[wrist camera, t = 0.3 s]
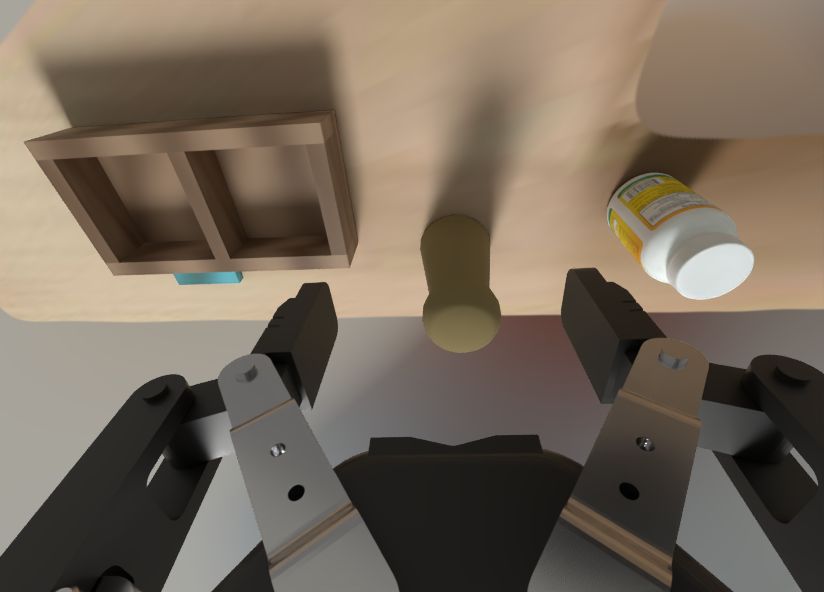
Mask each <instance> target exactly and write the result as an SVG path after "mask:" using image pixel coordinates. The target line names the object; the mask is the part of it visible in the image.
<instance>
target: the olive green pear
mask: <svg viewBox="0 0 824 592" xmlns="http://www.w3.org/2000/svg"><path fill="white" fill-rule="evenodd" d="M420 250H421V255H422V260H423V265H424V270H425V275H426V280H427V285H428V290H429V295H428V297H427V299H426V301H425V303H424V306H423V319H422V321H423V324H424V326H425V330H426V332H427V335H428V336H429V337H430V338H431V339H432V341H433V342H434V343H435V344H437V345H438V346H440V347H441V348H443V349H445V350H448V351H452V352H461V353H464V352H470V351H475V350H477V349H479V348H482V347H484V346H485V345H487V344H488V343H489V342H490V341H491V340H492V339H493V337H494V336H495V334H496V333H497V332H498V330H499V325H500V322H501V311H500V306H499V302H498V300H497V298H496V297H495V295H494V294H493V292H492V291H491V289H490V288H489V279H490V241H489V235H488V233H487V232H486V230H485V228H484V226H482V225H481V224H480V223H479V222H478V221H476V220H475V219H473V218H470V217H467V216H464V215H451V216H446V217H442V218H440V219H439V220H437V221H435V222H433V223H432V224H431V225H430V226H429V227H428V228H427V229H426V230H425V232H424V234H423V237H422V239H421V248H420Z"/></svg>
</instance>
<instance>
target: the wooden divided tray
mask: <svg viewBox="0 0 824 592" xmlns="http://www.w3.org/2000/svg"><path fill="white" fill-rule="evenodd" d="M24 144H25V145H26V146H27V148H28V149H29V151H30V152H31V154H32V155H33V157H34V158H35V160H36V161H37V163H38V164H39V166H40V167H41V169H42V170H43V172H44V173H45V175H46V176H47V177H48V179H49V180H50V182H51V183H52V185H53V186H54V188H55V189H56V191H57V192H58V194H59V195H60V197H61V198H62V200H63V201H64V203H65V204H66V206H67V207H68V209H69V210H70V211H71V213H72V214H73V216H74V217H75V219H76V220H77V222H78V223H79V225H80V226H81V228H82V229H83V231H84V232H85V234H86V235H87V237H88V238H89V240H90V241H91V242H92V244H93V245H94V247H95V248H96V250H97V251H98V253H99V254H100V256H101V257H102V259H103V260H104V262H105V263H106V265H107V266H108V268H109V269H110V271H111V272H112V274H113V275H114V276H115V275H146V274H174V276H175V278H176V280H177V282H178V283H179V285H188V284H222V283H240V282H241V280H242V279H243V277H242V274H241V272H240V271H272V270H303V269H334V268H350V265H351V262H352V259H353V257H354V254H355V251H356V248H357V245H358V240H357V235H356V229H355V224H354V218H353V212H352V207H351V201H350V196H349V190H348V184H347V179H346V173H345V167H344V162H343V156H342V151H341V145H340V139H339V134H338V128H337V123H336V117H335V111H334V110H325V111H310V112H296V113H281V114H266V115H251V116H236V117H221V118H206V119H192V120H177V121H162V122H147V123H132V124H117V125H102V126H88V127H73V128H69V129H65V130H62V131H58V132H55V133H52V134H48V135H45V136H42V137H38V138H35V139H32V140H28V141H25V142H24Z"/></svg>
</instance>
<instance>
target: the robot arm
mask: <svg viewBox="0 0 824 592" xmlns="http://www.w3.org/2000/svg"><path fill="white" fill-rule="evenodd" d="M561 317H562V323H563V327H564V329H565V331H566V333H567V335H568V337H569V339H570V341H571V343H572V345H573V347H574V349H575V351H576V353H577V355H578V357H579V359H580V362H581V364H582V366H583V368H584V370H585V372H586V374H587V376H588V378H589V380H590V382H591V384H592V386H593V388H594V390H595V392H596V394H597V396H598V398H599V400H600V403H601V404H609V403H610V404H611V403H613V404H612V407H611V409H610V411H609V413H608V415H607V418H606V420H605V422H604V424H603V426H602V428H601V431H600V433H599V435H598V437H597V439H596V441H595V444H594V446H593V448H592V450H591V452H590V455H589V457H588V459H587V461H586V463H585V465H584V466H582V465H581V464H579V463H578V462H576V461H574V460H572V459H570V458H568V457H566V456H564V455H561V454H559V453H556V452H553V451H550V450H547V449H542V447H541V444H540V440H539V436H538V435H499V436H498V435H496V436H492V437H488V438H484V439H480V440H476V441H472V442H468V443H465V444H461V445H456V446H450V445H445V444H440V443H436V442H431V441H427V440H422V439H417V438H412V437H387V438H386V437H382V438H371V439H370V446H369V451H367V452H363V453H360V454H358V455H356V456H353V457H351V458H349V459H347V460H345V461H344V462H342V463H341V464H339V465H338V466H336V467H335V468H332V466H331V465H330V463H329V461H328V459H327V457H326V455H325V454H324V452H323V450H322V448H321V447H320V445H319V443H318V441H317V439H316V437H315V435H314V434H313V432H312V430H311V428H310V426H309V425H308V423H307V421H306V419H305V417H304V415H303V414H302V412H301V410H312V408H313V405H314V402H315V399H316V396H317V394H318V391H319V388H320V384H321V382H322V379H323V376H324V373H325V370H326V367H327V364H328V361H329V358H330V355H331V351H332V349H333V346H334V343H335V340H336V337H337V332H338V322H337V317H336V313H335V309H334V305H333V301H332V297H331V293H330V289H329V286H328V284H327V283H326V282H319V283H304V284H303V285H302V287H301V289H300V290H299V292H298V294H297V296H296V298H289V299H288V300H287V301H286V302H285V303H283V304H282V305H281V306H280V307H278V309H277V311H276V312H275V314H274V316H273V319H271V321H270V322H269V324H268V328H266V329H265V331H264V332H263V334H262V336H261V337H260V339H259V341H258V342H257V344H256V346H255V347H254V349H253V350H252V352H251V354H250V355H246V356H242V357H240V358H238V359H236V360H234V361H232V362H231V363H229V364H228V365H227V366H226V367H225V368H224V369H223V370H222V371H221V373H220V375H219V377H218V379H215V380H211V381H208V382H204V383H200V384H196V385H193V386H189V385H188V383H187V381H186V380H185V378H184V377H182V376H180V375H176V374H171V375H165V376H161V377H158V378H156V379H153V380H151V381H149V382H148V383H146V384H144V385H142V386H141V387H140V388H139V389H137V390H136V391H135V392H134V393H133V394H132V395H131V396H130V398H129V399H128V400H127V401H126V403H125V404H124V405H123V406H122V407H121V409H120V410H119V411H118V412H117V414H116V415H115V416H114V417H113V418H112V420H111V421H110V422H109V423H108V425H107V426H106V427H105V428H104V430H103V431H102V432H101V433H100V434H99V436H98V437H97V438H96V440H95V441H94V442H93V443H92V444H91V446H90V447H89V448H88V449H87V451H86V452H85V453H84V454H83V456H82V457H81V458H80V459H79V461H78V462H77V463H76V464H75V465H74V467H73V468H72V469H71V470H70V471H69V473H68V474H67V475H66V477H65V478H64V479H63V480H62V481H61V483H60V484H59V485H58V486H57V487H56V489H55V490H54V491H53V492H52V494H51V495H50V496H49V497H48V499H47V500H46V501H45V502H44V503H43V505H42V506H41V507H40V508H39V510H38V511H37V512H36V513H35V515H34V516H33V517H32V518H31V520H30V521H29V522H28V523H27V525H26V526H25V527H24V528H23V529H22V531H21V532H20V533H19V534H18V536H17V537H16V538H15V539H14V540H13V542H12V543H11V544H10V546H9V547H8V548H7V549H6V551H5V552H4V553H3V554H2V555H1V557H0V592H161V591H162V589H163V587H164V584H165V582H166V580H167V578H168V576H169V573H170V571H171V569H172V567H173V565H174V563H175V560H176V558H177V556H178V554H179V552H180V549H181V547H182V545H183V543H184V541H185V538H186V536H187V534H188V532H189V530H190V527H191V525H192V523H193V521H194V519H195V516H196V514H197V512H198V510H199V507H200V505H201V503H202V501H203V499H204V496H205V494H206V492H207V490H208V488H209V486H210V483H211V481H212V479H213V477H214V475H215V473H216V470H217V468H218V466H219V464H220V462H221V459H222V457H223V456H225V455H229V454H232V453H235V452H236V456H237V459H238V462H239V465H240V468H241V472H242V475H243V478H244V481H245V485H246V488H247V492H248V495H249V498H250V501H251V505H252V508H253V511H254V514H255V518H256V521H257V524H258V527H259V531H260V534H261V537H262V541H261V542H260V543H259V544H258V545H257V546H256V547H255V548H254V549H253V550H252V551H251V552H250V553H249V554H248V555H247V556H246V557H245V558H244V559H243V560H242V561H241V562H240V563H239V564H238V565H237V566H236V567H235V568H234V569H233V570H232V571H231V572H230V573H229V574H228V575H227V576H226V577H225V578H224V580H222V581H221V582H220V583H219V585H217V587H216V588H215V589H214V590H213V591H212V592H733V591H732V590H731V589H729V588H728V587H727V586H726V585H725V584H724V583H722V582H721V581H720V580H719V579H718V578H716V577H715V576H714V575H713V574H712V573H710V572H709V571H708V570H707V569H706V568H705V567H703V566H702V565H701V564H700V563H699V562H697V561H696V560H695V559H694V558H693V557H692V556H690V555H689V554H688V553H687V552H686V551H684V550H683V549H682V548H681V547H680V546H679V545H677V544H676V540H677V535H678V531H679V526H680V521H681V517H682V511H683V508H684V503H685V498H686V494H687V489H688V485H689V480H690V475H691V470H692V466H693V461H694V457H695V452H696V448H697V447H702V448H706V449H709V450H712V451H713V453H714V454H715V456H716V458H717V459H718V461H719V462H720V464H721V465H722V467H723V469H724V470H725V472H726V473H727V475H728V476H729V478H730V480H731V481H732V482H733V484H734V486H735V487H736V489H737V490H738V492H739V494H740V495H741V497H742V498H743V500H744V501H745V503H746V505H747V506H748V508H749V509H750V511H751V512H752V514H753V516H754V517H755V519H756V520H757V522H758V523H759V525H760V527H761V528H762V530H763V531H764V533H765V534H766V536H767V537H768V539H769V541H770V542H771V544H772V545H773V547H774V548H775V550H776V552H777V553H778V554H779V556H780V558H781V559H782V561H783V563H784V564H785V566H786V567H787V569H788V570H789V572H790V573H791V575H792V577H793V578H794V580H795V581H796V583H797V584H798V586H799V588H800V589H801V591H802V592H824V374H823V373H822V372H820V371H819V370H817V369H815V368H814V367H812V366H810V365H808V364H806V363H804V362H801V361H798V360H795V359H792V358H789V357H784V356H778V355H761V356H757V357H755V358H754V359H753V360H752V361H751V363H750V365H749V366H748V368H747V369H742V368H735V367H730V366H724V365H718V364H713V363H708V360H707V358H706V357H705V356H704V355H703V354H702V353H701V352H700V351H699V350H697V349H696V348H694V347H693V346H691V345H688V344H687V343H684V342H681V341H678V340H675V339H669V338H667V337H666V336H665V335H664V333H663V332H662V331H661V330H660V329H659V328H658V326H657V325H656V324H655V323H654V322H653V321H652V319H651V318H650V317H649V316H648V314H647V313H646V312H645V311H643V308H642V307H641V306H640V305H639V304H638V303H636V300H635V299H634V298H633V296H632V295H631V294H630V293H629V292H628V290H626V289H624V288H623V287H621V286H619V285H618V284H616V283H614V282H606V280H605V279H604V278H603V276H602V275H601V274H600V273H599V271H598V270H597V269H596V268H579V269H570V270H569V271H568V273H567V277H566V283H565V289H564V295H563V302H562V308H561ZM793 447H794V448H795V449H796V450H797V451H798V453H799V454H800V455H801V456H802V457H803V458H804V459H805V461H806V462H807V463H808V464H809V465H810V467H811V468H812V469H813V471H814V472H815V475H816V477H817V480H818V486H817V484H816V483H815V482H814V481H813V480H812V478H811V477H810V476H809V475H808V474H807V472H806V471H805V470H804V469H803V468H802V466H801V465H800V464H799V463H798V462H797V460H796V459H795V458H794V457H793V456H792V454H791V453H790V451H791V449H792V448H793ZM161 454H163V456H164V457H165V458H164V460H163V462H162V463H161V465H160V466H159V468H158V470H157V472H156V473H155V475H154V476H153V478H152V480H151V482H150V483H149V485H148V486H147V479H148V476H149V474H150V472H151V470H152V469H153V467H154V465H155V464H156V462H157V461H158V459H159V457H160V456H161Z"/></svg>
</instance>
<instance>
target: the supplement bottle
mask: <svg viewBox="0 0 824 592" xmlns="http://www.w3.org/2000/svg"><path fill="white" fill-rule="evenodd" d="M607 220H608V224H609V226H610V228H611V229H612V230H613V232H614V233H615V234H616V235H617V237H618V238H619V239H620V240H621V242H622V243H623V244H624V245H625V246H626V248H627V249H628V250H629V251H630V253H631V254H632V255H633V256H634V258H635V259H636V260H637V261H638V263H639V264H640V265H641V266H642V267H643V269H644V270H645V271H646V272H647V273H648V274H649V275H650V276H651V277H653V278H654V279H656V280H658V281H661V282H665V283H670V284H671V285H672V286H674V287H675V289H676V290H677V291H678V292H679V293H680V294H682V295H683V296H685V297H687V298H690V299H710V298H714V297H718V296H721V295H723V294H725V293H727V292H729V291H731V290H733V289H734V288H736V287H737V286H738V285H740V284H741V283H742V282H743V281H744V280H745V279H746V278H747V277H748V275H749V274H750V272H751V271H752V268H753V265H754V255H753V252H752V250H751V249H750V248H749V247H748V246H746V245H745V244H744V243H742V242H741V241H740V240H739V239H738V238H737V237H738V234H737V228H736V225H735V223H734V221H733V220H732V219H731V218H730V217H729V216H728V215H727V214H726V213H724V212H723V211H722V210H720V209H719V208H717V207H716V206H714V205H713V204H711V203H710V202H708V201H707V200H705V199H704V198H703V197H701V196H699V195H698V194H696V193H695V192H694V191H692V190H691V189H689V188H688V187H686V186H685V185H684V184H682V183H681V182H679V181H678V180H676V179H675V178H673V177H672V176H669V175H667V174H663V173H647V174H643V175H640V176H637V177H635V178H633V179H631V180H629V181H628V182H626V183H625V184H624V185H622V186H621V187H620V188H619V189H618V190H617V191H616V192H615V194H614V195H613V197H612V198H611V200H610V202H609V205H608V208H607Z"/></svg>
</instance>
